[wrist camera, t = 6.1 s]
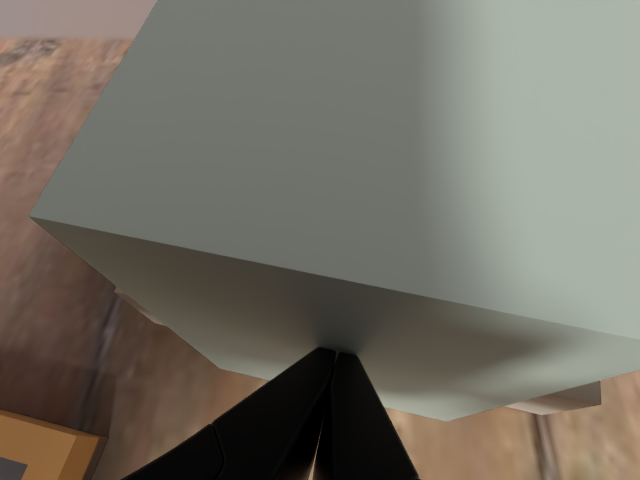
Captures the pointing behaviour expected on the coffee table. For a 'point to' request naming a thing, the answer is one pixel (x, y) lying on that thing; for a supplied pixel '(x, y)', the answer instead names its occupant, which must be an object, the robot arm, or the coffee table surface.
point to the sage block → (375, 190)
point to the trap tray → (45, 450)
